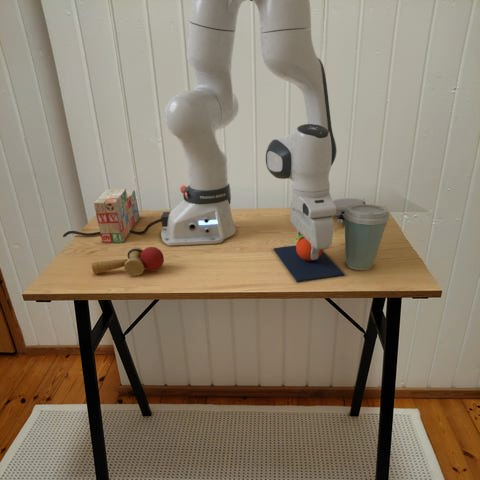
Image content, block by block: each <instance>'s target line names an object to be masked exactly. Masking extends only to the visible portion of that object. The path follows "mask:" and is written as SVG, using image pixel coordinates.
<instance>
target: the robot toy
mask: <svg viewBox="0 0 480 480" xmlns="http://www.w3.org/2000/svg"><path fill="white" fill-rule="evenodd" d="M332 201H333V203H334V204H335V206H336V214H335V215H334V216H337V217H338V218H337V223H338V224H339V223H340V224H344V223H345V222H344V217H343V216H344V213H345V210H346V209H347V208H348V207H349V206H352V205H358V204H367V203H366V201H365V198H362V199H359V198H350V197H349V198H347V197H346V198H345V197H344V198H337V199H334V200H332Z"/></svg>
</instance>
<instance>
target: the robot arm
mask: <svg viewBox="0 0 480 480" xmlns="http://www.w3.org/2000/svg"><path fill="white" fill-rule="evenodd" d="M245 1H246V0H191V5H190V13H189V21H188V22H189V23H188V33H187V34H188V36H187V45H186V46H187V47H186V59H187V62H188V64H189V65H190V66H191V68H192V70H193V76H194V88H193V89H190V90H185V91H182V92H180V93H178V94H177V95H174V96H173V97H172V98H171V99H169V100H168V102H166V105H165V107H164V112H163V115H164V117H163V119H164V122H165V125H166V128H167V129H168V130H169V132H170V133H171V134H172V135H173V136H174V137H176V138H177V140H178V142H179V143H180V146H181V148H182V150H183V153H184V156H185V160H186V167H187V172H188V173H187V175H188V186H186V185H184V184H182V185H180V188H179V190H180V192H181V194H182V197H183V200H182V201H181V202H179V204H177V206H175V207H174V208H173V209H172V210H170V211H163V212H162V214H161V216H160V218H159V219H157V220H154V221H152V222H151V223H149V224H148V225H146V227H145V228H144V230H141V231H136V230H132V229H131V230H130V233H129V234H134V235H144V234H146V233H147V232H148V231H149V229H150V228H151V227H152V226H154V225H156V224H159V223H161V227H162V229H161V231H160V238H161V241H162V243H164V244H165V245H167V246H169V247H171V246H189V245H190V246H195V245H214V244H221V243H222V242H224V241H225V240H226V239H228V238H230V237H232V236H233V235H235V234H236V232H237V228H236V225H235V223H234V219H233V214H232V209H231V200H232V194H231V186H230V183H229V173H228V158H227V155H226V153H225V152H224V151H223V150H221V148H220V146H219V143H218V140H217V136H216V131H219V130H222V129H224V128H226V127H227V126H229V125H230V124H231V123H232V122H233V121H234V120H235V119H236V118H237V116H238V113H239V107H240V106H239V101H238V98H237V95H236V94H235V92H234V88H233V79H232V77H233V76H232V75H233V74H232V65H233V63H232V62H233V56H234V55H233V53H234V48H235V47H234V45H235V39H236V31H237V23H238V15H239V11H240V7H241V5H242V4H243V3H244V2H245ZM249 1H250V2H253V3H254V4H255V5H256V7H257V10H258V17H259V35H260V50H261V51H260V53H261V57H262V61H263V63H264V65H265V66H266V68H267V69H268V71H269V72H270V73H272V74H273V75H274V76H276V77H277V78H279V79H281V80H284V81H286V82H289V83H291V84H293V85H295V86H296V87H297V88H298V89H299V90H300V91H301V93H302V95H303V100H304V106H305V112H306V113H305V114H306V121H307V123H305V124H301V125H298V126H297V127H296V128H295V129H294V131H292V132H291V133H289V134H287V135H284V136H279V137H278V138H275V139H272V140H271V141H270V142H269V144H268V145H267V148H266V152H265V165H266V168H267V170H268V172H269V173H270V174H271V175H272V176H273V177H275V178H276V179H279V180H286V179H289V180H291V181H292V184H291V201H290V206H289V207H290V209H289V221H290V224H291V225H292V226H293V227H294V228H295V229H296V233H297V238H298V237H299V236H301V235H303V236H304V237H305V238H306V240H307V241H308V242H309V243H310V244H311V247H312V249H311V251H310V255H309V256H310V258H311V259H312V260H316V259H318V254H319V251H320V250H321V249H323V250H327V249H330V248H331V246H332V244H333V243H332V242H333V235H334V217H333V216H336V215H335V214H336V206H335V204H334V203H333V201H334V200H333V199H332V195H331V193H330V189H331V183H330V172H331V168H332V166H333V164H334V162H335V161H336V157H337V152H338V151H337V144H336V139H335V136H334V132H333V127H332V120H331V119H332V118H331V111H330V110H331V109H330V101H329V91H328V85H327V76H326V71H325V68H324V64H323V62H322V60H321V59H320V58H319V57H318V55H317V53H316V50H315V47H314V42H313V37H312V36H313V35H312V10H311V1H310V0H249ZM70 234H72V235H73V234H75V235H79V236H85V237H91V236H93V237H94V236H99V235H101V234H100V231H96V232H82V231H77V230H68V231H67V232H65V233H64V234H63V235H62V238H65V237H67V236H68V235H70ZM299 239H300V238H299ZM299 239H298V240H299Z"/></svg>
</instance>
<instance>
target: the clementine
mask: <svg viewBox="0 0 480 480" xmlns="http://www.w3.org/2000/svg"><path fill="white" fill-rule="evenodd" d="M299 238H300V239H299ZM296 241H297V242H296ZM295 242H296V250H297V254H298V255H299V256H300V258H302V259H303V260H306V261H313V260H312V259H311V258H310V256H309V255H310V251H311V249H312V247H311V244H310V243H309V242H308V241H307V240H306V238H305V237H304V236H303V235H301V236H299V237H298V236H297V237H296V238H295V239H294V241H293V242H292V245H291V246H294V245H293V244H294V243H295ZM322 252H324V249H321V250H320V251H319V254H318V258H319V257H320V256H321V254H322Z"/></svg>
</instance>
